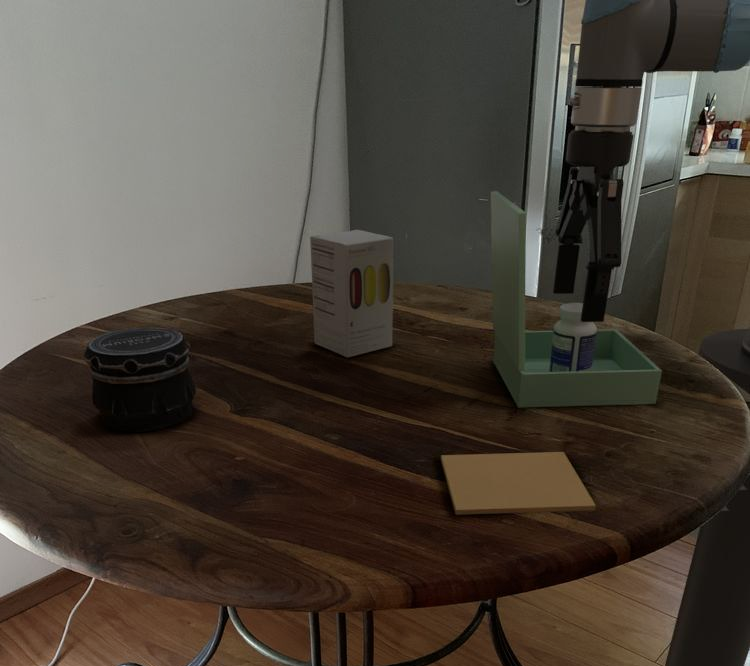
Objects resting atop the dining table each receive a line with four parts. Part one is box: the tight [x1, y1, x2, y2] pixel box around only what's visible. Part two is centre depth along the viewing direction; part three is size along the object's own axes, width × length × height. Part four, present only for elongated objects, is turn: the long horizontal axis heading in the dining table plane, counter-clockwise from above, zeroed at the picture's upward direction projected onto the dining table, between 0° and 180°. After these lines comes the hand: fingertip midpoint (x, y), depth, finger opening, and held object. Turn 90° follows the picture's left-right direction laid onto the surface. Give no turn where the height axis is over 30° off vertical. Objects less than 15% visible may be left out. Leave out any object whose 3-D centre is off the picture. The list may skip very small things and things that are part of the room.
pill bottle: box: [549, 302, 598, 372], centre depth 101 cm, size 6×6×10 cm
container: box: [83, 326, 197, 432], centre depth 92 cm, size 13×13×10 cm
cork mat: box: [440, 451, 597, 516], centre depth 78 cm, size 14×12×1 cm
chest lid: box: [490, 190, 527, 371], centre depth 96 cm, size 19×18×1 cm
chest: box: [492, 328, 663, 409], centre depth 102 cm, size 18×18×5 cm
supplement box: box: [309, 229, 394, 358], centre depth 114 cm, size 10×9×17 cm
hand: (576, 306), depth 98 cm, fingers open, 13 cm apart
